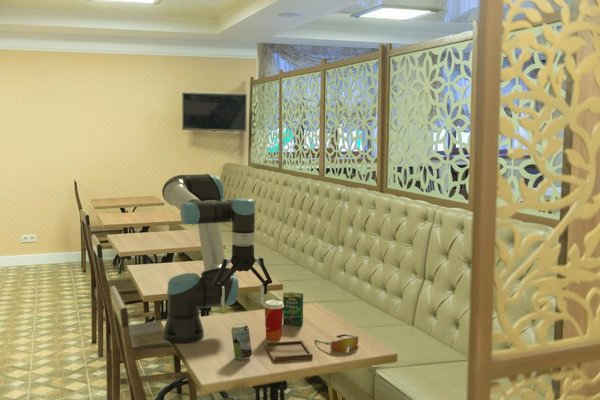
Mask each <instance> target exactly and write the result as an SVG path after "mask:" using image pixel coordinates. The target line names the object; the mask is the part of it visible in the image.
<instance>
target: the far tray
mask: <svg viewBox="0 0 600 400" xmlns="http://www.w3.org/2000/svg"><path fill="white" fill-rule="evenodd" d="M264 347H265V350H266V352H267V353H268V355H269V357H270V359H271V360H272V363H280V362H281V363H283V362H295V361H305V360H306V361H311V360H313V353H312V352H311V350H310V349H309V347H308V346H307V345H306V343H305V342H304V341H303V339H302V340H301V339H300V340H290V341H289V340H287V341H276V342H275V341H272V342H267V343H266V344H265V345H264Z"/></svg>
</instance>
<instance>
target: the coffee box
mask: <svg viewBox="0 0 600 400" xmlns="http://www.w3.org/2000/svg"><path fill="white" fill-rule="evenodd" d="M282 302H283V304H284V307H283V318H282V325H289V326H296V327H302V326H303V325H304V293H303V292H294V291H293V292H292V291H291V292H290V291H284V292H283V293H282Z"/></svg>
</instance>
